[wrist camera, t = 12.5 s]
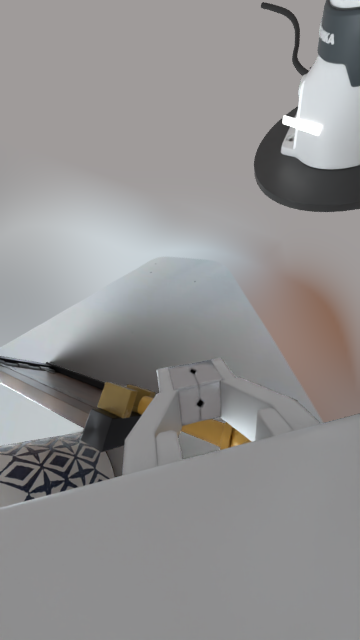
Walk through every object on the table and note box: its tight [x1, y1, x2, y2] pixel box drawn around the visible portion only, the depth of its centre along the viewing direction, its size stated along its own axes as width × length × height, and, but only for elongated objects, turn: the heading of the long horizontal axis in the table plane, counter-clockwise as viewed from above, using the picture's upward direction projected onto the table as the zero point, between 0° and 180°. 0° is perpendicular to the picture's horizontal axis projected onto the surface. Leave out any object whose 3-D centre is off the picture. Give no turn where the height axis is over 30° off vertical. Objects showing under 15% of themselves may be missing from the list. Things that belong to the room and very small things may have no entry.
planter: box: [0, 433, 114, 508], centre depth 22 cm, size 16×16×14 cm
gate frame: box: [0, 356, 155, 452], centre depth 27 cm, size 29×5×13 cm, turn 74°
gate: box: [0, 360, 103, 428], centre depth 26 cm, size 23×2×12 cm, turn 74°
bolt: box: [138, 396, 252, 450], centre depth 15 cm, size 11×3×4 cm, turn 74°
